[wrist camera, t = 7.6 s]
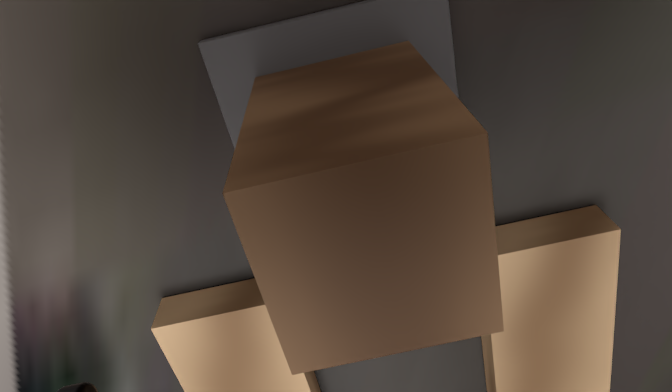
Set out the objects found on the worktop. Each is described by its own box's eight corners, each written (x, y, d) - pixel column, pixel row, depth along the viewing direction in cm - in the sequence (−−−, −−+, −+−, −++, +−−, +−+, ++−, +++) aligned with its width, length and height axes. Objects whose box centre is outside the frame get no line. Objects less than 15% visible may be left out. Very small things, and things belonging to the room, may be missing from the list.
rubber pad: (443, -19, 14) (446, -17, 14) (466, 196, 18) (469, 201, 17) (200, 40, 14) (197, 43, 14) (268, 239, 18) (268, 245, 18)
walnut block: (408, 40, 14) (487, 132, 8) (429, 177, 17) (504, 331, 10) (255, 77, 15) (222, 193, 9) (295, 208, 17) (291, 375, 11)
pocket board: (595, 205, 18) (620, 229, 17) (587, 421, 24) (605, 452, 22) (161, 298, 19) (150, 328, 17) (256, 485, 25) (253, 519, 23)
